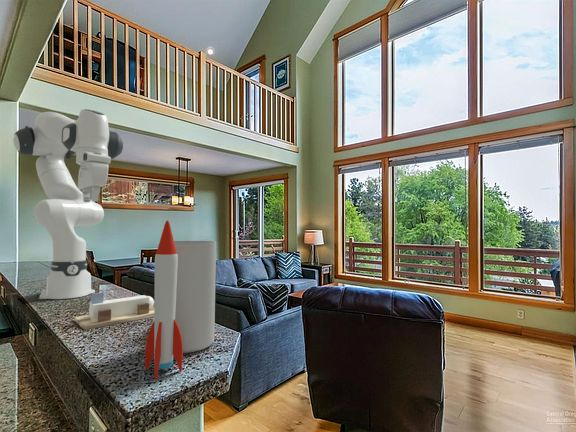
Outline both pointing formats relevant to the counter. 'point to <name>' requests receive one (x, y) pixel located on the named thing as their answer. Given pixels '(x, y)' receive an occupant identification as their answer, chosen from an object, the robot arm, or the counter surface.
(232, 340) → the counter surface
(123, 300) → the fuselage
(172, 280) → the toy rocket
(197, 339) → the cylinder vase
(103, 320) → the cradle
